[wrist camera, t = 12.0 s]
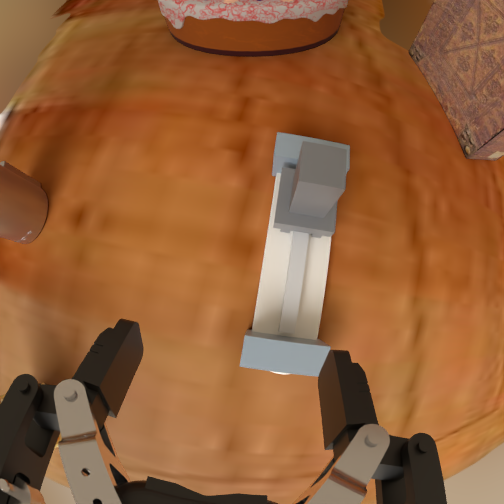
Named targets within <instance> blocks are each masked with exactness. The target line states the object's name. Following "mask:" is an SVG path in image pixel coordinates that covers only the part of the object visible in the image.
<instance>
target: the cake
mask: <svg viewBox="0 0 504 504" xmlns="http://www.w3.org/2000/svg"><path fill="white" fill-rule="evenodd" d="M158 3H159V6H160V10H161V13H162V15H164V17H165V20H166V23H167V26H168V28H169V31H170V33H171V35H172V36H173V37H174V38H175V39H176V40H177V41H178V42H180V43H181V44H183V45H185V46H187V47H190V48H192V49H195V50H198V51H202V52H206V53H212V54H219V55H229V56H273V55H282V54H290V53H295V52H300V51H304V50H308V49H311V48H315V47H317V46H319V45H322V44H324V43H326V42H327V41H329V40H330V39H332V38H333V37H334V36H335V35H336V33H337V32H338V29H339V27H340V24H341V20H342V16H343V12H344V8H346V7H347V3H348V0H158Z"/></svg>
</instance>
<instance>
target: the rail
mask: <svg viewBox="0 0 504 504" xmlns="http://www.w3.org/2000/svg"><path fill="white" fill-rule="evenodd" d="M303 141H307V142H312V143H318V144H323V145H328V146H333V147H338V148H342V149H347V161H346V174H347V172H348V170H349V166H350V145H345V144H341V143H336V142H331V141H326V140H321V139H316V138H311V137H305V136H299V135H293V134H286V133H280V132H277V138H276V144H275V151H274V159H273V170H272V176H276V180H275V187H274V194H273V200H272V207H271V214H270V220H269V227H268V233H267V239H266V246H265V252H264V259H263V265H262V271H261V277H260V284H259V290H258V296H257V302H256V308H255V314H254V320H253V326H252V330H249V329H247V332H246V334H245V338H244V344H243V350H242V356H241V362H240V367H246V368H253V369H259V370H266V371H271V372H274V373H278V374H298V375H308V376H319V373H320V370H321V368H322V366H323V364H324V362H325V359H326V357H327V355H328V353H329V351H330V346H329V345H327V344H326V343H324V342H323V341H321V340H320V339H317V337H318V332H319V326H320V320H321V313H322V307H323V300H324V293H325V286H326V279H327V271H328V263H329V254H330V245H331V236H330V237H327V236H322V237H321V238H316V237H311V234H309V233H303V232H297V231H291V230H290V233H285V232H280V229H278V228H273V225H274V218H275V212H276V205H277V198H278V191H279V184H280V177H281V170H282V167H284V168H290V169H296V166H297V162H298V158H299V154H300V150H301V146H302V142H303Z"/></svg>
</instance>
